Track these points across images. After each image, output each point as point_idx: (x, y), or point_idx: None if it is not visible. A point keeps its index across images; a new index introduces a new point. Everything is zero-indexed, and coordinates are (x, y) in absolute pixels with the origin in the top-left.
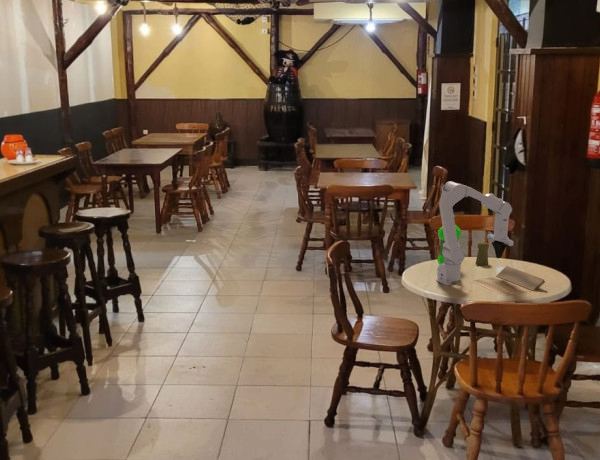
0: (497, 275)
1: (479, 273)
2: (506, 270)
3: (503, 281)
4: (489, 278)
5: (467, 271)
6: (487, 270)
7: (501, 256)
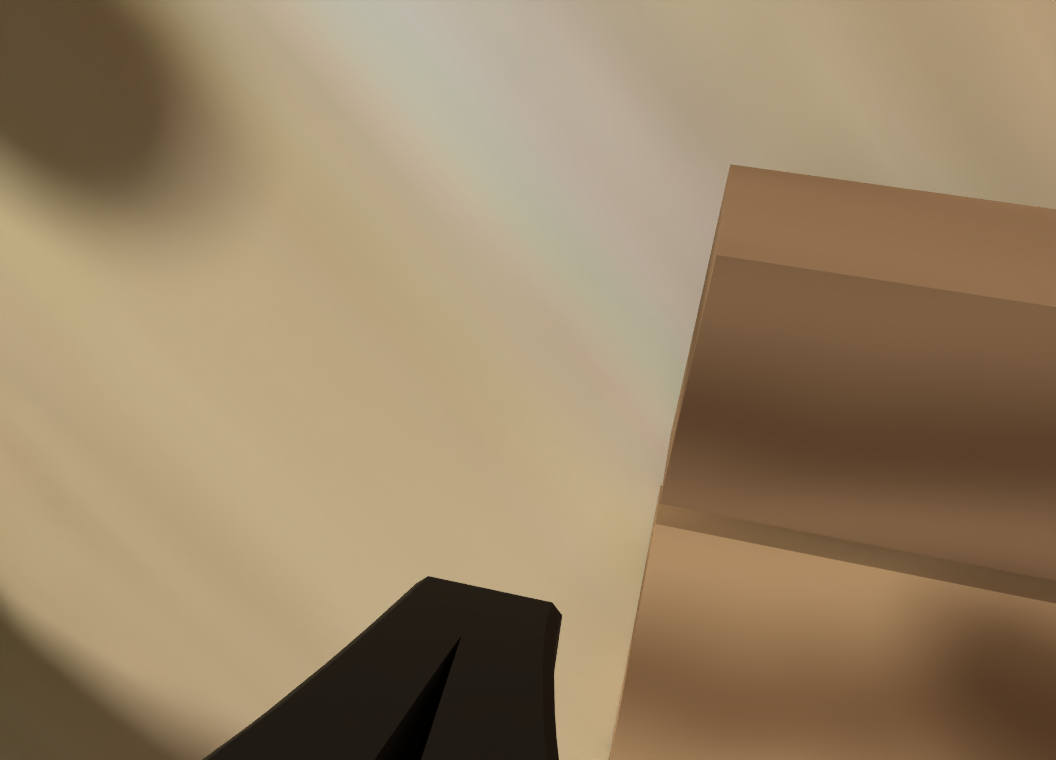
0: (685, 497)
1: (192, 389)
2: (846, 392)
3: (1024, 675)
4: (677, 708)
5: (14, 465)
6: (80, 66)
7: (553, 670)
